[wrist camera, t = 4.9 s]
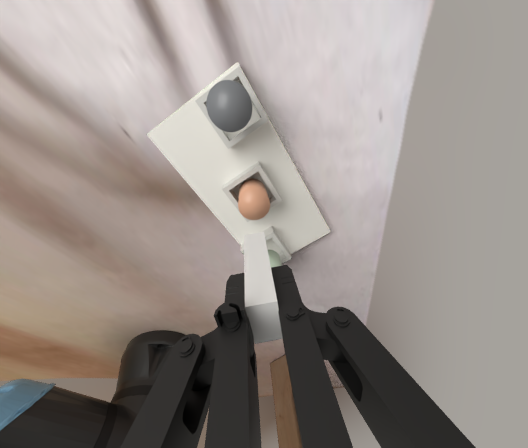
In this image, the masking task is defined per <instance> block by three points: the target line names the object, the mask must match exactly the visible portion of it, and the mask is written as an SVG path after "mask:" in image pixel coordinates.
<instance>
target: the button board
mask: <svg viewBox="0 0 528 448" xmlns="http://www.w3.org/2000/svg"><path fill="white" fill-rule="evenodd" d="M223 80H232V81H235V82H238V83H239V84H241V85H242V86H243V87H244V88H245V89H246V90H247V92H248V93H249V95H250V98H251V101H252V115H251V118H250V120H249V122H248V124H247V125H246V126H245V127H244V128H243V129H241V130H239V131H236V132H226V131H223V130H221V129H219V128H218V127H217V126H215V125H214V123H213V122H212V121H211V119H210V117H209V115H208V112H207V106H206V101H207V96H208V93H209V91H210V89H211V88H212V87H213V86H214V85H215V84H216V83H218V82H220V81H223ZM146 135H147V136H148V137H149V138H150V139H151V141H152V142H153V143H154V144H155V145H156V146H157V148H158V149H159V150H160V151H161V152H162V153H163V155H164V156H165V157H166V158H167V159H168V161H169V162H170V163H171V164H172V165H173V166H174V168H175V169H176V170H177V171H178V172H179V174H180V175H181V176H182V177H183V178H184V179H185V181H186V182H187V183H188V184H189V185H190V187H191V188H192V189H193V190H194V191H195V192H196V194H197V195H198V196H199V197H200V198H201V199H202V201H203V202H204V203H205V204H206V205H207V207H208V208H209V209H210V210H211V211H212V212H213V214H214V215H215V216H216V217H217V218H218V220H219V221H220V222H221V223H222V224H223V225H224V227H225V228H226V229H227V230H228V231H229V232H230V234H231V235H232V236H233V237H234V238H235V240H236V241H237V242H238V243H239V244H240V245H241V252H242V254H243V255H244V235H247V234H253V233H259V232H264V235H265V240H266V245H267V250H274V251H276V252H277V253H278V254H279V256H280V260H281V264H283V263H285V262H286V261H288V260H290V259H292V257H291V254H292V253H294V252H296V251H297V250H299V249H301V248H303V247H305V246H306V245H308V244H310V243H312V242H314V241H315V240H317V239H319V238H321V237H323V236H324V235H326V234H328V233H330V232H331V231H330V229H329V227H328V225H327V224H326V222H325V220H324V218H323V216H322V215H321V213H320V211H319V209H318V207H317V205H316V204H315V202H314V200H313V198H312V196H311V194H310V193H309V191H308V189H307V187H306V185H305V184H304V182H303V180H302V178H301V176H300V174H299V173H298V171H297V169H296V167H295V165H294V164H293V162H292V160H291V158H290V156H289V154H288V153H287V151H286V149H285V147H284V145H283V143H282V142H281V140H280V138H279V136H278V134H277V133H276V131H275V129H274V127H273V125H272V123H271V122H270V120H269V118H268V116H267V114H266V113H265V111H264V109H263V107H262V105H261V103H260V102H259V100H258V98H257V96H256V94H255V92H254V91H253V89H252V87H251V85H250V83H249V82H248V80H247V78H246V76H245V74H244V72H243V71H242V69H241V67H240V65H239V63H238V62H237V63H236V64H234V65H233V66H232V67H231V68H229V69H228V70H227V71H226V72H224V73H223V74H222V75H220V76H219V77H218V78H217V79H215V80H214V81H213V82H212V83H210V84H209V85H208V86H207V87H205V88H204V89H203V90H202V91H200V92H199V93H198V94H197V95H195V96H194V97H193V98H192V99H190V100H189V101H188V102H187V103H185V104H184V105H183V106H182V107H180V108H179V109H178V110H177V111H175V112H174V113H173V114H172V115H170V116H169V117H168V118H167V119H165V120H164V121H163V122H161V123H160V124H159V125H158V126H156V127H155V128H154V129H153V130H151V131H150V132H149V133H148V134H146ZM248 179H258V180H260V181H261V182H262V183H263V184H264V186H265V188H266V191H267V194H268V198H269V201H270V209H269V212H268V213H267V214H266V216H264V217H263V218H261V219H258V220H249V219H247V218H245V217H244V216H242V214H241V213H240V211H239V208H238V200H239V189H240V186H241V184H242V183H243V182H244V181H245V180H248Z"/></svg>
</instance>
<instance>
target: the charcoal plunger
mask: <svg viewBox="0 0 528 448" xmlns="http://www.w3.org/2000/svg"><path fill="white" fill-rule="evenodd" d="M206 106H207V112H208V115H209V117H210V119H211V121H212V122H213V123H214V125H215V126H217V127H218V128H219V129H221V130H223V131H226V132H236V131H239V130H241V129H243V128H244V127H245V126H246V125H247V124H248V122H249V120H250V118H251V115H252V101H251V98H250V95H249V93H248V92H247V90H246V89H245V88H244V87H243V86H242V85H241V84H239V83H238V82H235V81H232V80H223V81H220V82H218V83H216V84H215V85H214V86H213V87H212V88H211V89H210V91H209V93H208V96H207V101H206Z"/></svg>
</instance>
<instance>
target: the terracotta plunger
mask: <svg viewBox="0 0 528 448" xmlns="http://www.w3.org/2000/svg"><path fill="white" fill-rule="evenodd" d="M238 208H239V211H240V213H241V214H242V216H244V217H245V218H247V219H249V220H258V219H261V218H263V217H264V216H266V214H267V213H268V212H269V209H270V201H269V198H268V194H267V191H266V188H265V186H264V184H263V183H262V182H261V181H260V180H258V179H248V180H245V181H244V182H243V183H242V184H241V186H240V189H239V200H238Z"/></svg>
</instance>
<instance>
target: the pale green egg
mask: <svg viewBox="0 0 528 448" xmlns="http://www.w3.org/2000/svg"><path fill="white" fill-rule="evenodd" d="M268 255H269V260H270V266H271V268H272V267H277V266H282V264H281V260H280V256H279V254H278V253H277V252H276V251H274V250H268Z"/></svg>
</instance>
